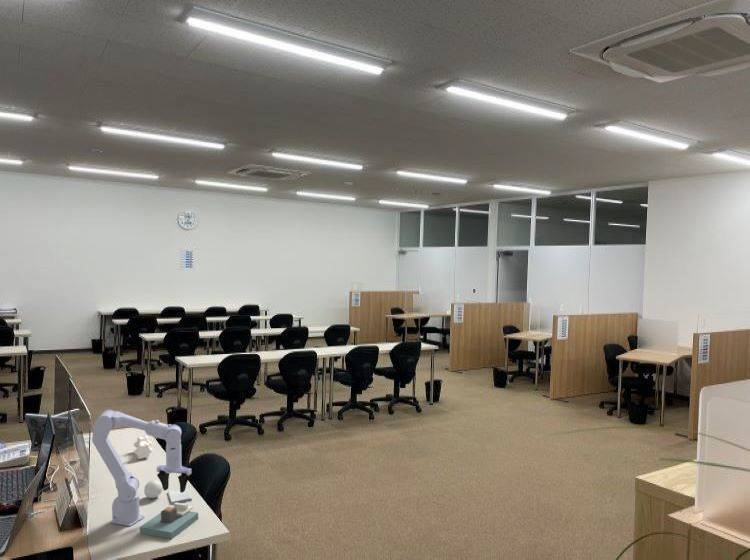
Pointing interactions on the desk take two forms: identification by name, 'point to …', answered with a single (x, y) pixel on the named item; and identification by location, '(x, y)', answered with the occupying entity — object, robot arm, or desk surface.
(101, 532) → the desk surface
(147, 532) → the socket board
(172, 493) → the hard drive
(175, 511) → the plug
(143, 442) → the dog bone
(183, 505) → the plate
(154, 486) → the white rounded ovoid
